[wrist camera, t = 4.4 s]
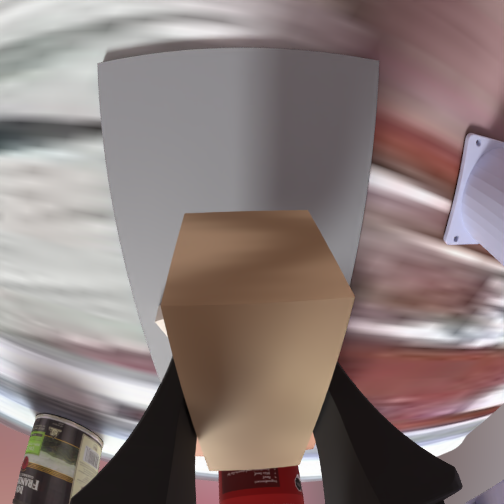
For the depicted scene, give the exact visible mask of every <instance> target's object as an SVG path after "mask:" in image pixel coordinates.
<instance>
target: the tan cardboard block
mask: <svg viewBox="0 0 504 504" xmlns="http://www.w3.org/2000/svg"><path fill="white" fill-rule="evenodd" d="M354 299H355V296H354V294H353V292H352V290H351V288H350V286H349V284H348V282H347V281H346V279H345V277H344V275H343V273H342V271H341V269H340V267H339V265H338V263H337V262H336V260H335V258H334V256H333V254H332V252H331V250H330V249H329V247H328V245H327V243H326V241H325V239H324V238H323V236H322V234H321V232H320V230H319V229H318V227H317V225H316V223H315V222H314V220H313V218H312V216H311V215H310V213H309V211H308V210H276V211H234V212H205V213H185V214H184V217H183V221H182V224H181V228H180V231H179V235H178V239H177V242H176V246H175V250H174V253H173V257H172V261H171V265H170V269H169V273H168V277H167V281H166V285H165V289H164V293H163V297H162V302H161V310H162V315H163V319H164V323H165V327H166V331H167V335H168V339H169V343H170V347H171V351H172V355H173V359H174V362H175V366H176V370H177V373H178V377H179V380H180V384H181V387H182V391H183V394H184V397H185V401H186V404H187V407H188V410H189V413H190V417H191V420H192V423H193V426H194V429H195V432H196V435H197V438H198V441H199V443H200V446H201V449H202V452H203V455H204V457H205V460H206V463H207V466H208V468H209V471H230V470H253V469H267V468H278V467H287V466H296V465H299V464H300V462H301V460H302V457H303V455H304V452H305V450H306V448H307V445H308V442H309V440H310V437H311V435H312V432H313V430H314V427H315V424H316V422H317V419H318V416H319V413H320V411H321V408H322V405H323V402H324V399H325V397H326V394H327V391H328V388H329V385H330V382H331V379H332V376H333V372H334V369H335V366H336V363H337V360H338V356H339V353H340V350H341V346H342V343H343V340H344V336H345V333H346V329H347V325H348V322H349V318H350V314H351V311H352V307H353V303H354Z"/></svg>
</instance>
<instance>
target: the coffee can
mask: <svg viewBox="0 0 504 504" xmlns="http://www.w3.org/2000/svg"><path fill="white" fill-rule="evenodd" d="M102 448H103V442H102V441H101V439H100V438H99V437H98V436H97V435H95V434H94V433H93V432H91V431H89V430H88V429H86V428H84V427H82V426H81V425H79V424H76V423H74V422H72V421H70V420H67V419H65V418H62V417H59V416H55V415H50V414H39V415H37V416H36V418H35V423H34V426H33V429H32V432H31V436H30V440H29V443H28V446H27V449H26V453H25V456H24V460H23V464H22V468H21V471H20V475H19V479H18V484H17V488H16V493H15V498H14V499H13V504H70V501H71V498H72V497H73V496H74V495H75V494H76V493H78V492H79V491H80V490H81V489H82V488H83V487H84V486H85V485H87V484H88V483H89V482H90V481H91V480H92V479H93V478H94V477H95V476H96V475H97V474H98V469H99V464H100V457H101V452H102Z"/></svg>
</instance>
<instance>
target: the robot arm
mask: <svg viewBox="0 0 504 504" xmlns="http://www.w3.org/2000/svg"><path fill="white" fill-rule="evenodd" d="M477 140H478V142H477V144H476V141H477ZM455 236H456V237H455ZM454 237H455V238H454ZM444 241H445V242H446V243H447V244H448V245H455V244H481V245H482V246H483V247H484V248H485V249H486V250H487V251H489V252H490V253H491V254H492V255H493V256H494V257H495V258H496V259H497V260H498V261H499V262H500V263H501V264H502V265H503V266H504V142H502V141H499V140H495V139H492V138H488V137H485V136H481V135H478V134H474V133H469V134H467V136H466V139H465V145H464V151H463V157H462V163H461V168H460V173H459V178H458V183H457V187H456V192H455V196H454V200H453V205H452V209H451V212H450V216H449V220H448V224H447V227H446V231H445V234H444ZM313 434H314V438H315V442H316V445H317V449H318V454H319V459H320V465H321V472H322V479H323V487H324V495H325V504H445V503H444V499H446V498H448V497H449V496H451V495H453V494H455V493H456V492H458V491H459V490H461V489H462V483H461V480H460V478H459V475H458V473H457V471H456V469H455V467H454V466H452V465H450V464H448V463H446V462H444V461H442V460H441V459H439V458H437V457H436V456H434V455H432V454H431V453H429V452H428V451H426V450H425V449H423V448H421V447H420V446H419V445H417V444H416V443H415V442H413V441H412V440H411V439H409V438H408V437H407V436H405V435H404V434H403V433H401V432H400V431H399V430H398V429H397V428H396V427H395V426H393V425H392V424H391V423H390V422H389V421H388V420H387V419H386V418H385V417H384V416H383V415H382V414H381V413H380V412H379V411H378V410H377V409H376V408H375V407H374V406H373V405H372V404H371V403H370V402H369V401H368V400H367V398H366V397H365V396H364V395H363V394H362V393H361V392H360V390H359V389H358V388H357V387H356V385H355V384H354V383H353V382H352V380H351V379H350V378H349V377H348V375H347V374H346V373H345V371H344V370H343V369H342V367H341V366H340V364H339V363H338V362H337V363H336V366H335V369H334V372H333V376H332V379H331V382H330V385H329V388H328V391H327V394H326V397H325V399H324V402H323V405H322V408H321V411H320V413H319V416H318V419H317V422H316V424H315V427H314V430H313ZM196 443H197V435H196V432H195V429H194V426H193V423H192V420H191V417H190V413H189V410H188V407H187V404H186V401H185V397H184V394H183V391H182V387H181V384H180V380H179V377H178V373H177V370H176V366H175V362H174V359H173V356H172V359H171V361H170V364H169V366H168V369H167V371H166V373H165V375H164V377H163V380H162V382H161V384H160V386H159V388H158V390H157V392H156V394H155V396H154V397H153V399H152V401H151V403H150V405H149V406H148V408H147V410H146V411H145V413H144V415H143V417H142V418H141V420H140V421H139V423H138V424H137V426H136V427H135V429H134V430H133V432H132V433H131V435H130V436H129V438H128V439H127V440H126V442H125V443H124V444H123V445H122V447H121V448H120V449H119V451H118V452H117V453H116V454H115V456H114V457H113V458H112V459H111V460H110V461H109V462H108V463H107V465H106V466H105V467H104V468H103V469H102V470H101V471H100V472H99V473H98V474H97V475H96V476H95V477H94V478H93V479H92V480H91V481H90V482H89V483H88V484H87V485H85V486H84V487H83V488H82V489H81V490H80V491H79V492H78V493H76V494H75V495H74V496H73V497H72V498H71V501H70V504H196V491H195V453H196ZM464 504H504V480H502V481H501V482H499V483H498V484H496V485H495V486H493V487H492V488H490V489H488V490H487V491H485V492H483V493H482V494H480V495H478V496H477V497H475V498H473V499H471V500H470V501H468V502H466V503H464Z"/></svg>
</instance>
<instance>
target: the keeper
mask: <svg viewBox="0 0 504 504" xmlns="http://www.w3.org/2000/svg"><path fill="white" fill-rule="evenodd" d="M378 78H379V61H377V60H372V59H367V58H361V57H355V56H349V55H342V54H335V53H327V52H318V51H308V50H296V49H280V48H207V49H192V50H180V51H170V52H161V53H153V54H146V55H139V56H133V57H127V58H121V59H116V60H111V61H106V62H101V63H98V86H99V102H100V114H101V125H102V135H103V144H104V152H105V160H106V167H107V174H108V180H109V187H110V193H111V199H112V204H113V210H114V215H115V220H116V225H117V230H118V235H119V240H120V244H121V249H122V253H123V258H124V262H125V266H126V270H127V274H128V278H129V282H130V286H131V290H132V294H133V297H134V301H135V305H136V308H137V312H138V315H139V319H140V322H141V325H142V329H143V332H144V335H145V338H146V341H147V345H148V348H149V351H150V354H151V357H152V360H153V363H154V366H155V368H156V371H157V374H158V377H159V380H160V382H162V380H163V377H164V375H165V373H166V371H167V369H168V366H169V364H170V361H171V359H172V356H173V355H172V351H171V347H170V343H169V339H168V335H167V331H166V327H165V323H164V319H163V315H162V310H161V302H162V297H163V293H164V289H165V285H166V281H167V277H168V273H169V269H170V265H171V261H172V257H173V253H174V250H175V246H176V242H177V239H178V235H179V231H180V228H181V224H182V221H183V217H184V214H185V213H205V212H234V211H276V210H308V211H309V213H310V215H311V216H312V218H313V220H314V222H315V223H316V225H317V227H318V229H319V230H320V232H321V234H322V236H323V238H324V239H325V241H326V243H327V245H328V247H329V249H330V250H331V252H332V254H333V256H334V258H335V260H336V262H337V263H338V265H339V267H340V269H341V271H342V273H343V275H344V277H345V279H346V281H347V282H348V284H349V286H350V282H351V277H352V273H353V268H354V263H355V258H356V253H357V248H358V243H359V238H360V232H361V226H362V221H363V215H364V209H365V202H366V196H367V189H368V182H369V175H370V167H371V159H372V151H373V142H374V132H375V121H376V109H377V95H378ZM315 443H316V442H315V438H314V434H313V432H312V435H311V437H310V440H309V442H308V445H307V448H306V450H308V449H313V448H314V445H315ZM195 456H204V455H203V452H202V449H201V446H200V443H199V441H198V438H197V443H196V453H195Z"/></svg>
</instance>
